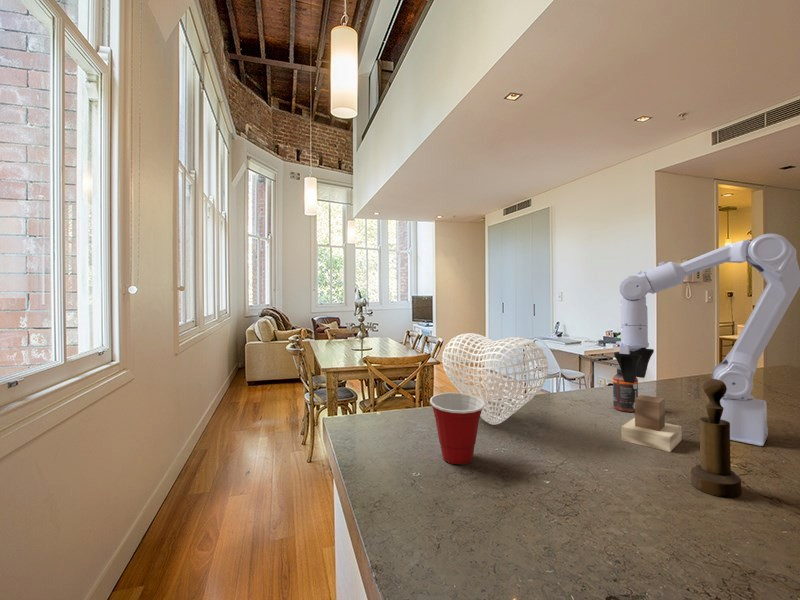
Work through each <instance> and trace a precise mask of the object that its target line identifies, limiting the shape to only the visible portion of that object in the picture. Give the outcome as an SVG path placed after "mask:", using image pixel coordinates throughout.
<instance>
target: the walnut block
mask: <svg viewBox="0 0 800 600" xmlns="http://www.w3.org/2000/svg"><path fill="white" fill-rule="evenodd" d="M665 412H666V411H665V398H664V397H657V396H650V395H644V394H640V395H638V397H637V398H635V412H634V418H635V426H636V427H641V428H646V429H651V430H655V431H660V430H661V429H662V428H663V427H664V426H665V423H666V421H665V415H666V413H665Z"/></svg>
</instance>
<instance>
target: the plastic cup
mask: <svg viewBox="0 0 800 600" xmlns="http://www.w3.org/2000/svg"><path fill="white" fill-rule="evenodd" d="M464 393H465V392H464ZM464 393H460V392H452V391H451V392H441V393H439V394H434V395H432V396H431V397H430V400H429V403H430V405H431V407H432V411H433V413H434V418H435V423H436V430H437V436H438V440H439V445H440V449H441V455H442V459H443V460H444V462H445V461H447V462H448V464H450V463H451V464H450V465H454V464H463V465H467V463H468V464H470V463H471V462H472V461H473V457H474V451H475V445H476V441H477V435H478V428H479V422H480V419H481V416H480V414H481V412H482V411H483V410H482V409H483V408H484V407H485V406H486V405H485V402H484V400H482V399H481V397H480V398H479V397H477V396H476V395H474V394H473V395H471V394H464ZM447 462H446V463H447Z"/></svg>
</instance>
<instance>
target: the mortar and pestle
mask: <svg viewBox="0 0 800 600" xmlns="http://www.w3.org/2000/svg"><path fill="white" fill-rule="evenodd" d="M702 389H703V391H704V393H705V395H706V396H707V397H708V401H709V402H708V404H706V405H705V411H706V413H707V416H708V417H700V418H699V420H698V421H699V453H700V454H699V457H700V458H699V461H700V463H698V464H697V465H695V466H693V467H691V469H690V482H691V483H690V484H691V485H692V487H694V488H695V489H697V490H698V491H700V492H702V493H705V494H708V495H711V496H717V497H720V498H721V497H722V498H738V497H740V496H741V495H742V479H741V477H740V476H739V475H737V474H736V473H735V471H733V470H732V468H731V467H732V466H731V465H732V464H731V463H732V462H731V440H730V423H729V422H728V421H725V420H722V419H721V416H722V413H723V407H722V406H721V404H720V400H721V398H722V397H723V396H724V394H725V393H726V390H727V388H726V385H725V383H724V382H723V381H721V380H718V379H713V378H708V379H705V381H704V382H703V384H702Z"/></svg>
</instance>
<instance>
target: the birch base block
mask: <svg viewBox="0 0 800 600" xmlns="http://www.w3.org/2000/svg"><path fill="white" fill-rule="evenodd" d="M620 429H621V431H620V432H621V441H623V442H626V443H627V442H628V443H630V444H631V443H632V444H635V445H640V446H644V447H647V448H648V447H649V448H653V449H657V450H660V451H664V452H668V453H671V452H672V451H673V449H675V448H676V446H678V444H679V443H681V441H682V433H683V432H682V426H681V425H677V424H673V423H666V422H665V426H664V427H663V428H662V429H661V430H660V431H655V430H651V429H646V428H641V427H636V426H635V417H633V418H632V419H629V421H627V422H625V424H622V426H621V428H620Z"/></svg>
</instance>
